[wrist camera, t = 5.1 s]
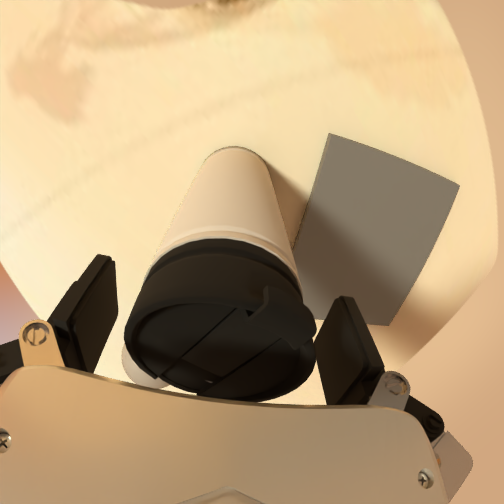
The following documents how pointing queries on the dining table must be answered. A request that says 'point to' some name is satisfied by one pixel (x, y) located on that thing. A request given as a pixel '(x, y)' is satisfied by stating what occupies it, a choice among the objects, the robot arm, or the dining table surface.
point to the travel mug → (225, 291)
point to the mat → (368, 229)
